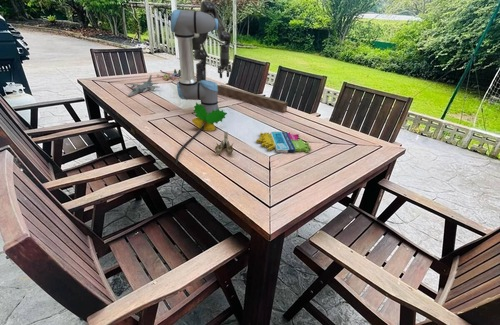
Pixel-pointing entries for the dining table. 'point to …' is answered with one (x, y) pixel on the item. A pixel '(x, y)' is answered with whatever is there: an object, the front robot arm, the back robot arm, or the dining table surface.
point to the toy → (171, 75)
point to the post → (253, 98)
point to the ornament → (207, 117)
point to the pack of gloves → (283, 142)
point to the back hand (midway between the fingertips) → (224, 77)
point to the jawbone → (224, 145)
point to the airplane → (142, 87)
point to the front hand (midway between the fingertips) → (195, 66)
